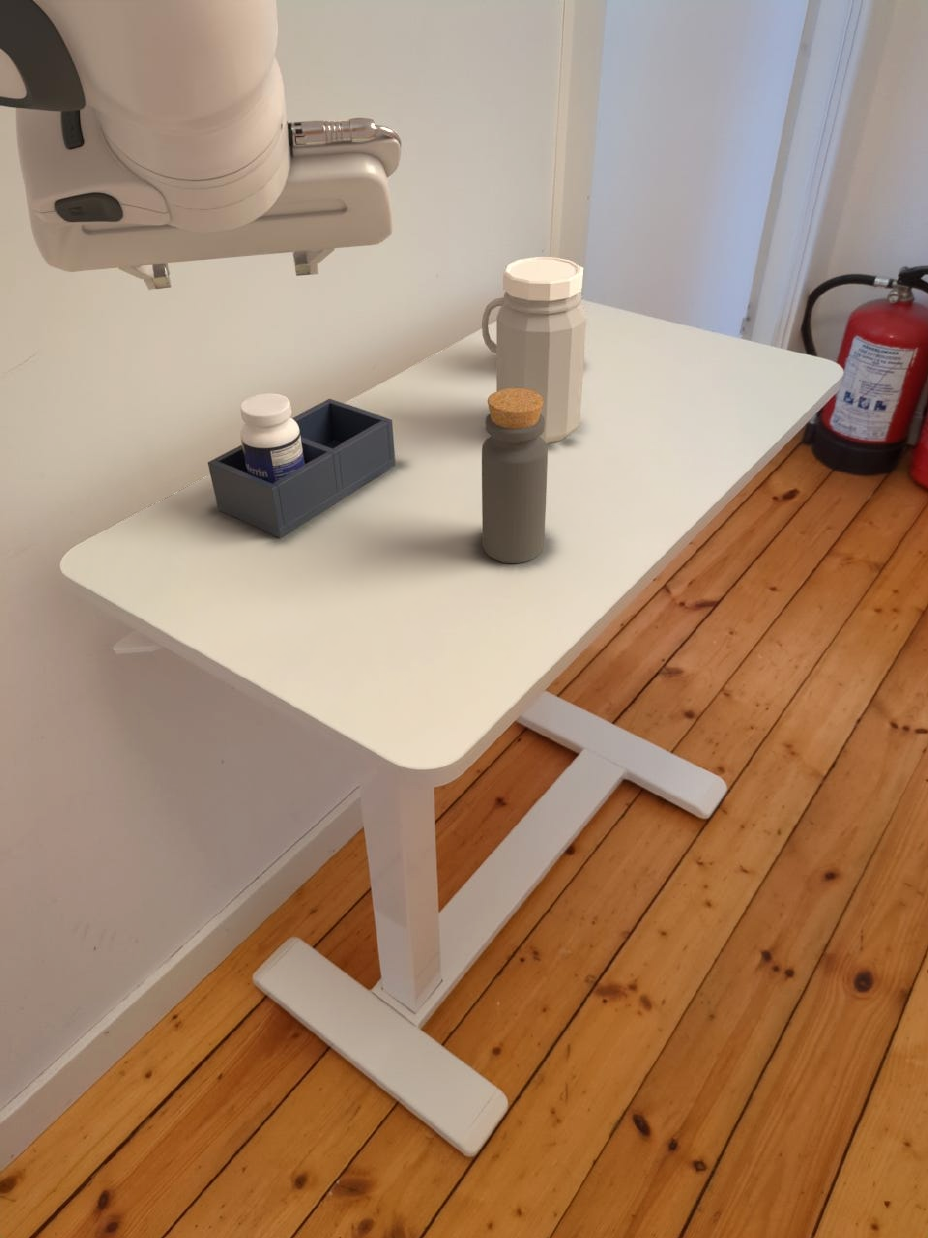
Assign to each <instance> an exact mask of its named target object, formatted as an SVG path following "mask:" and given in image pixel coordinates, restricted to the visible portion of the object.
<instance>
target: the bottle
mask: <svg viewBox="0 0 928 1238" xmlns="http://www.w3.org/2000/svg"><path fill="white" fill-rule="evenodd" d="M487 405H488V409H489V410H488V411H489V413H488V414H487V416H486V417H485V432H486V433H487V434H488V435H489V436H488V438H486V439H485V440H484V441H483V443H482V446H481V518H482V519H481V520H482V528H481V529H482V548H483V550H484V553H485V554H486V555H487V556H488V557H490V558H492V559H493V560H495V561H498V562H500V563H505V564H506V563H507V564H520V563H526V562H530V561H532V560H534V559H537V558H538V557H539V556H540V555H541V554H542V552H543V551H544V547H545V538H546V536H545V535H546V518H547V517H546V515H547V514H546V513H547V493H548V492H547V490H548V466H549V465H548V463H549V447H548V443H546V442H545V441H544V440H543V439H542V438H541V437H540V435H541V434H542V433H543V432H544V429H545V419H544V416H543V415H542V414H541V409H542V405H543V398H542V396H541V395H540V394H538V393H537V392H535V391H532V390H528V389H523V388H509V389H503V390H499V391H497V392H496V391H495V392H493V393H492V394H490V395H489V396H488V398H487Z"/></svg>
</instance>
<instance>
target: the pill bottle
mask: <svg viewBox="0 0 928 1238" xmlns="http://www.w3.org/2000/svg"><path fill="white" fill-rule="evenodd" d="M239 407H240V408H239V409H240V415H241V419H242V421H243V422H244V424H243V425H242V427H241V428H240V433H239V434H240V436H239V437H240V442H241V443H240V444H241V445H242V448H243V453H244V458H245V463H246V468H247V473H248V474H250V475H252V476H255V477H257V478H260V479H262V480H264V481H267V482H269V483H272V484H273V483H274V482H276V481H277V480H279V479H281V478H283V477H284V476H286V475H288V474H290V473H291V472H293V471H295V470H297V469H298V468H300V467H302V466H304V465H305V463H304V457H303V450H302V444H301V437H300V431H299V427H298V425H297V423H296V422H295V421H294V420H293V419H292V418H293V417H291V416H292V412H293V411H292V407H291V403H290V400H289V398H288V397H286V396H285V395H283V394H280V393H273V392H267V393H259V394H255V395H252V396H249V397H248V398H246V399H244V400H243V401H242V402H241V403H240V406H239Z"/></svg>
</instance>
